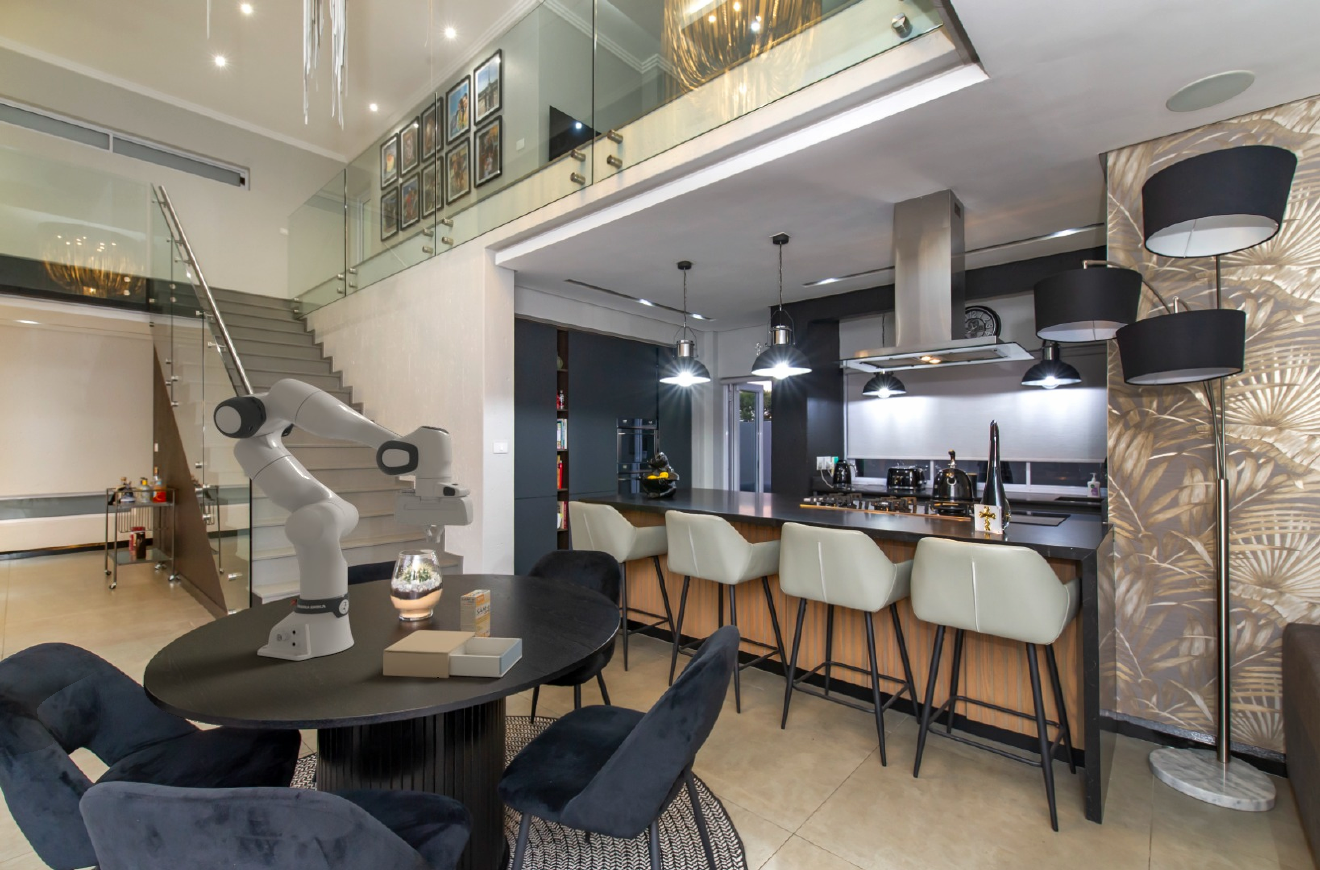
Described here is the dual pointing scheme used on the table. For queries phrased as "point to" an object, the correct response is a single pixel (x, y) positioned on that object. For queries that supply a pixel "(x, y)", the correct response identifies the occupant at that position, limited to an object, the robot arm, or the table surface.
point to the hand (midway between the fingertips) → (433, 542)
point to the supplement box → (476, 613)
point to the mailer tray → (485, 656)
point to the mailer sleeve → (423, 653)
